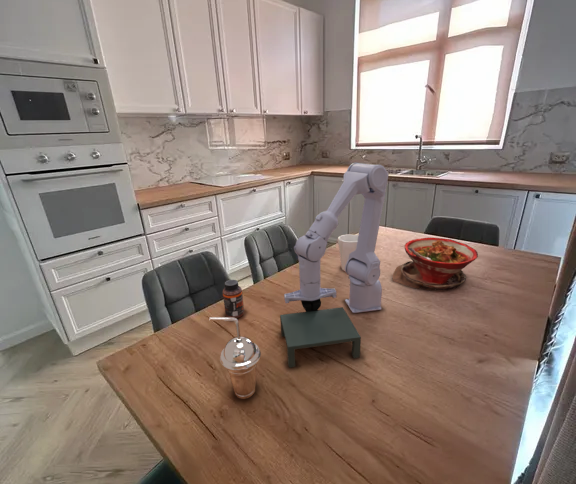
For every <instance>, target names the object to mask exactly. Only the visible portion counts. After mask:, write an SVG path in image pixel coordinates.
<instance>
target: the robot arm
mask: <svg viewBox="0 0 576 484" xmlns="http://www.w3.org/2000/svg"><path fill="white" fill-rule="evenodd" d="M389 175H390V174H389V172H388V171H387V169H386V167H385V166H384V165H383V164H370V163H361V162H353V163H351V164H350V165H349V166H348V167H347V170H346V171H345V172H344V173H343V182H342V184H341V185H340V187H339V189H338V191H337V192H336V194H335V195H334V197H333V199H332V201H331V203H330V204H329V206H328V208H327V209H326V210H324V211H321V212H319V214H317V215H316V216H315V220H314V221H313V223H312V224H311V225H310V227H309V228H308V230H307V231H306V233H305V234H304V235H302V236H300V237H298V239H297V240H296V241H295V245H294V246H293V250H294V253H295V254H296V256H297V260H298V266H299V267H298V272H299V273H298V274H299V289H297V290H295V291H292V292H288V293H284V294H283V301H284V303H285V304H289V303H290V302H298V301H300V302H301V305H302V307H303V309H304V312H310V311H317V310H320V307H321V306H322V300H321V299H323V298H325V299H326V298H337V289H336V288H333V287H332V288H326V287H324V288H323V287H321V284H322V283H321V280H322V279H321V273H322V272H321V271H322V270H321V259H322V258H323V257H324V256H325V254H326V252H327V251H326V250H327V246H328V241H329V239H330V238H331V236H332V235H333V233H334V232H335V231H336V229H337V228H338V226H339V220H338V219H339V217H340V215H341V214H342V213H343V212H344V210H345V209H346V208H347V206H348V205H349V204H350V203H351V202H352V200H353V199H354V197H355V196H356V195H362V196H363V198H364V201H363V206H362V213H361V218H360V224H359V230H358V234H357V235H358V241H357V247H356V250H355V251H353V252H351V253H350V254H349V259H348V261H347V263H346V265H345V271H344V272H345V274H346V275H348V280H349V295H348V296H349V297H348V298H345V299H344V303H346V306H348V308H349V309H350V311H351V313H353V314H357V313H359V314H360V313H366V312H374V311H381V310H382V309H383V308H382V296H383V294H382V293H383V288H382V287H383V286H382V283H381V281H380V280H379V279H380V277H381V260H380V259H379V257H378V256H377V254H376V253H375V251H376V246H377V240H378V236H379V231H380V225H381V224H380V223H381V219H382V215H383V214H382V213H383V210H384V204H385V198H386V190H387V187H388V180H389Z"/></svg>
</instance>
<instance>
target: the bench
mask: <svg viewBox="0 0 576 484" xmlns="http://www.w3.org/2000/svg"><path fill="white" fill-rule="evenodd" d="M279 321H280V334H281V337H284V339H285V344H286V353H287V365H288V368H289V369H290V368H295V367H296V352H295V351H296V350H301V349H306V348H307V349H308V348H314V347H323V346H329V345H337V344H343V343H351V356H352V358H353V359H358V358H360V357H361V344H362V343H361V342H362V336H361V334H360V333H359V331H358V330H357V328H356V326H355V325H354V323H353V322H352V320H351V318H350V317H349V315H348V314H347V312H346V310H345V308H344V307H343V306H341V307H332V308H324V309H318V310H317V311H310V312H306V311H300V312H299V311H298V312H292V313H284V314H279Z"/></svg>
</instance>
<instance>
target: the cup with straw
mask: <svg viewBox="0 0 576 484" xmlns="http://www.w3.org/2000/svg"><path fill="white" fill-rule="evenodd" d="M208 319H209V320H208V321H209V322H234V324H235V333H236V336H234V337H233V338H230V339H229V340H228V341H227V342H226V344H225V346H224V347H223V349H222V350H221V351H220V357H219V362H220V364H221V365H222V366H223V367H224V368H226V371H227V373H228V375H229V378H230V382H231V385H232V388H233V392H234V396H235V397H237V398H238V399H241V400H245V399H249V398H251V397H252V396H254V394H255V392H256V377H257V364H258V362H259V360H260V358H261V356H262V352H261V350H260V346H258V344H257V343H255V342H254V341H253V340H252V339H251V338H249V337H247V336H245V335H244V336H243V335H241V330H240V322H239V320H238V318H234V317H227V316H226V317H225V316H222V317H221V316H219V317H217V316H214V317H213V316H210V317H209V318H208Z"/></svg>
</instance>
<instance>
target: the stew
mask: <svg viewBox="0 0 576 484" xmlns="http://www.w3.org/2000/svg"><path fill="white" fill-rule="evenodd" d="M404 251H405V253H406V255H407V256H408V257H409V259H410V261H406V262H405V263H403V264H400V265H398V266H397V267H396V268H395V270H394V271H393V274H392V282H395V283H399V284H401V285H403V286H406V287H409V288H412V289H415V290H416V289H417V290H421V289H422V290H427V291H443V292H444V291H450V290H454V289H457V288H458V287H459V286H460V285H461V284H463V283H465V281H466V280H467V275H466V274H465V273H464V271H463V269H465V268H466V267H467V266H468V265H470V264H471V263H473V262H474V261H475V260H476V259H477V258H478V257H479V253H478V251H477V249H475V248H473V247H472V246H469V245H468V244H466V243H463V242H460V241H457V240H454V239H451V238H442V237H422V238H415V239H411V240H409V241H407V242H405V244H404ZM449 280H451V282H452V283H451V284H449Z"/></svg>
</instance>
